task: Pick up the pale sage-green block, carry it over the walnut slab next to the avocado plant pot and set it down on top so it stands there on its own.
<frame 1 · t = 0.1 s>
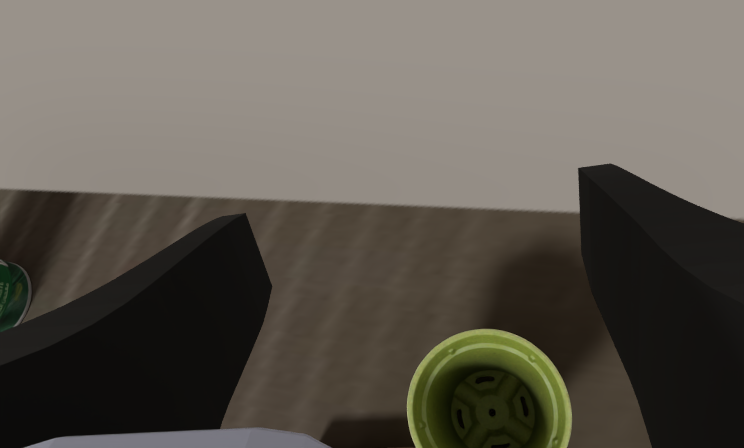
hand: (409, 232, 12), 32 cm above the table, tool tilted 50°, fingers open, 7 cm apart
plant pot 2: (492, 411, 40), on the table
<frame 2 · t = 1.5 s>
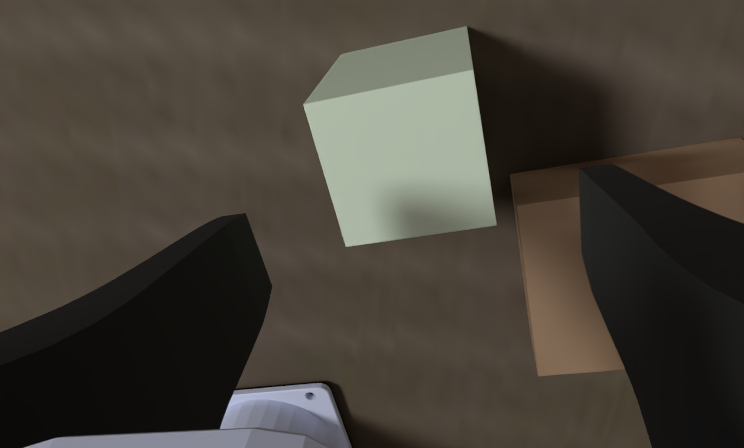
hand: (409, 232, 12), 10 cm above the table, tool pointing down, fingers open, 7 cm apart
sage block: (415, 102, 20), on the table
walnut slab: (620, 242, 23), on the table
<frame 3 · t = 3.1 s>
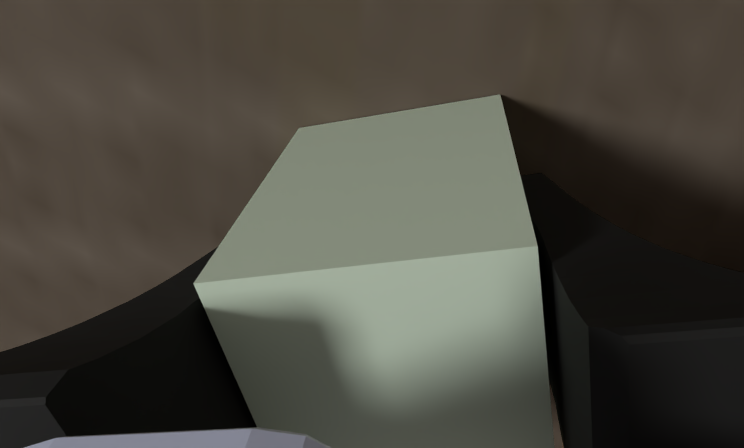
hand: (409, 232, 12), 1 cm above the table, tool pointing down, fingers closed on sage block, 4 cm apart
sage block: (413, 202, 13), on the table, touching gripper
when the fingers open (5 cm above the table, at t = 5.7 s): sage block drops 1 cm, resting on walnut slab.
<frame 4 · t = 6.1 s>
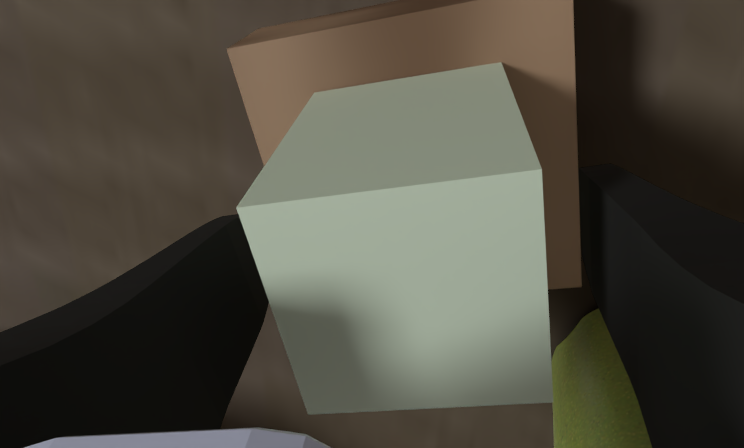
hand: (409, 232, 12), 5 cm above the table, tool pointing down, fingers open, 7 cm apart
sage block: (418, 164, 14), point 3 cm above the table, touching walnut slab
plant pot 2: (639, 356, 20), on the table
walnut slab: (422, 135, 17), on the table, touching sage block
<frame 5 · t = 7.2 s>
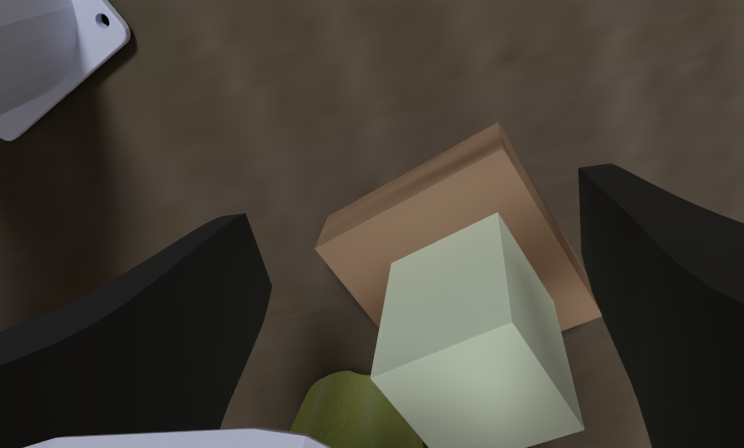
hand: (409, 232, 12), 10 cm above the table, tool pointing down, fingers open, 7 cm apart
sage block: (472, 282, 21), point 3 cm above the table, touching walnut slab
plant pot 2: (363, 407, 29), on the table
walnut slab: (457, 241, 24), on the table, touching sage block
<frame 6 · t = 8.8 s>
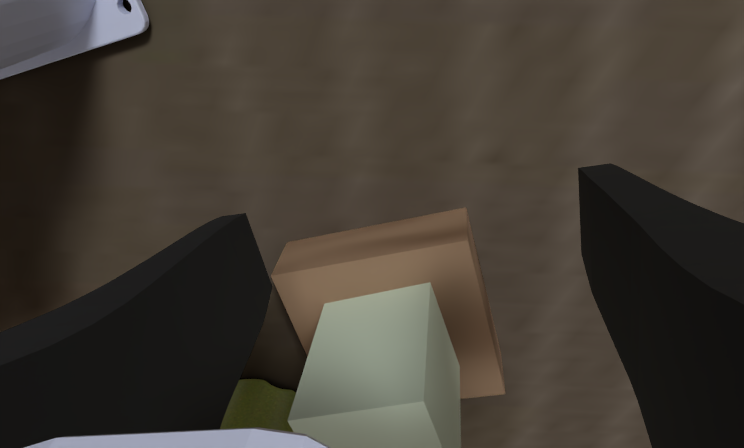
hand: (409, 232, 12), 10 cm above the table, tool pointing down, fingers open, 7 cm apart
sage block: (393, 335, 23), point 3 cm above the table, touching walnut slab
plant pot 2: (266, 414, 31), on the table
walnut slab: (398, 293, 26), on the table, touching sage block
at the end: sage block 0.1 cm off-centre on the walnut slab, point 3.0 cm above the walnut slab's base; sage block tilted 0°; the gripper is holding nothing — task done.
